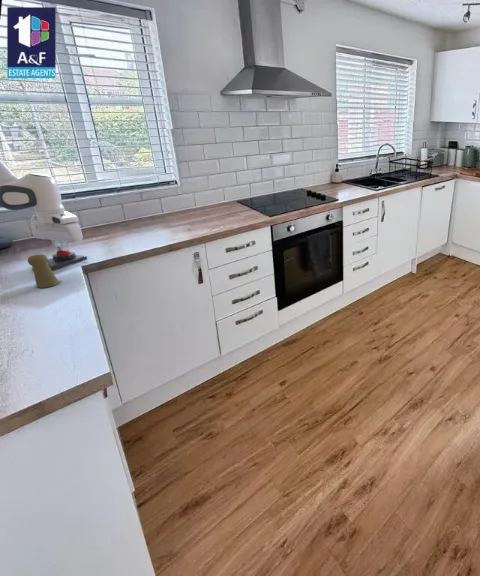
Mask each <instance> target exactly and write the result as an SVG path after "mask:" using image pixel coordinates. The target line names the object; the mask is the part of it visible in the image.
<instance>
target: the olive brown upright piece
mask: <svg viewBox="0 0 480 576" xmlns="http://www.w3.org/2000/svg"><path fill="white" fill-rule="evenodd" d="M48 259H49V258H48V256H46V255H45V254H40V253H39V254H34V255H31V256H29V257H27V263H28V265H30V266H31V267H32V271H33V276H34V280H35V284H36V287H37V288H40V289H44V288H50V287H54V286H57V285H58V284H59V283H60V282H59V280H58V278H57V276H56V275H55V273H54V271H52V270H51V268H50V267H49V265H48V264H47V262H48Z"/></svg>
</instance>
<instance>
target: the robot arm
mask: <svg viewBox="0 0 480 576" xmlns="http://www.w3.org/2000/svg"><path fill="white" fill-rule="evenodd" d="M0 207H2V208H3V209H6V210H9V211H21V210H22V211H23V210H25V209H30V208H33V209H34V213H35V214H33V215H32V216H31V217H30V220H31V221H30V229H31V232H32V235H33V237H34V238H35V239H38V240H39V239H40V240H49V241H51V243H52V245H54V247H55V250H56V251H67V250H68V248H67V245H68V243H78V242H79V243H80V242H82V241H83V239H84V236H83V235H84V234H83V232H82V228H81V226H80V224H79V217H78V216H77V215H75V214H73V213H71V212H69V211H67V210H66V208H65V206H64V204H63V202H62V195H61V191H60V188H59V186H58V183H57V181H56V180H55V178H54V177H53V176H51V175H48V174H46V173H41V172H28V173H26V174H25V175H23V176H22V177H19V176H18V175H17V174H16V173H15V172H13V171H12V170H11V168H9V167H8V165H6V164H5V162H3V160H2V159H0Z"/></svg>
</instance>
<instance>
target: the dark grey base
mask: <svg viewBox="0 0 480 576" xmlns="http://www.w3.org/2000/svg"><path fill="white" fill-rule="evenodd" d="M69 252H70V254H69V255H64V256H57V253H56V252H55V253H53V254H52V255H51V257H50V258H48V262H47V264H48V265H49V267H50V268H51V270H52V272H55V271H58V270H60V269H64V268H67V267H69V266H72V265H74V264H77V263H80V262H83V261H85V260H87V259H88V257H87V255H80V254H76V252H74V251H69Z"/></svg>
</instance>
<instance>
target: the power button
mask: <svg viewBox="0 0 480 576" xmlns="http://www.w3.org/2000/svg"><path fill="white" fill-rule="evenodd" d="M70 252H71V251H70V249H67V251H57V250H56V251H55V254H56V253H57V256H64V255H69V254H70Z"/></svg>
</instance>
